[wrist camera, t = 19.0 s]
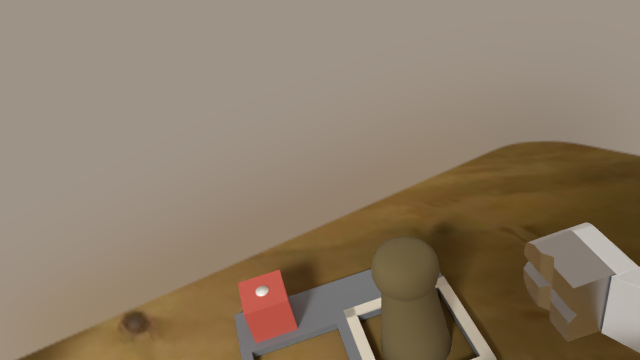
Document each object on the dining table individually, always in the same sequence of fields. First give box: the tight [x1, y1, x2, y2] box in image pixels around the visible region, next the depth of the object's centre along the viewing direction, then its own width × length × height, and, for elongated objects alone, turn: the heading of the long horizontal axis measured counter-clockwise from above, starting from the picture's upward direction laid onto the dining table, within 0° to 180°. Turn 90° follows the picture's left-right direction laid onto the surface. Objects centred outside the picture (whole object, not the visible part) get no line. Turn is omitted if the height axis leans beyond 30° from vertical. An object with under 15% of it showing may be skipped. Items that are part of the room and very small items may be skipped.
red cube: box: [238, 270, 298, 343], centre depth 49 cm, size 4×4×4 cm
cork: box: [371, 236, 451, 360], centre depth 43 cm, size 6×6×11 cm
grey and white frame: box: [235, 269, 497, 360], centre depth 47 cm, size 20×16×1 cm
